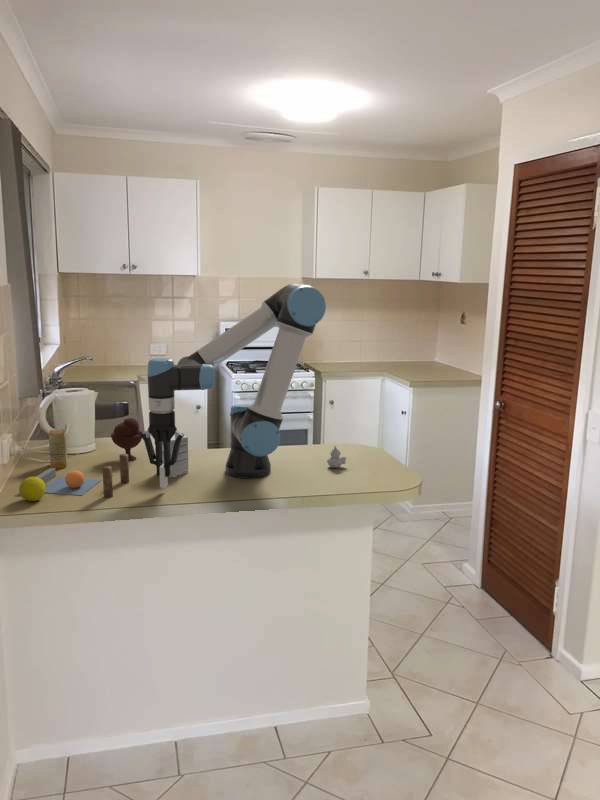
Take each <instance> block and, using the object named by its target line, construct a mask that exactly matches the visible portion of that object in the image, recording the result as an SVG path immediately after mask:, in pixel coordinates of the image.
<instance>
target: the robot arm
mask: <svg viewBox="0 0 600 800" xmlns="http://www.w3.org/2000/svg"><path fill="white" fill-rule="evenodd" d="M326 304H327V303H326V299H325V298H324V295H323V293H322V292H321V291H319V289H317V288H316V287H313V286H312V285H309V284H300V283H290V284H287V285H285V286H283V287H282V288H280V289H279V290H277V291H276V292H275V293H273V294H272V295H271V296H269V297H267V299H265V300H263V301H262V303H261V305H260V307H259V308H257V309H256V310H254V311H253V312H252V313H250V314H248V315H247V316H245V318H243V319H241V320H240V321H239V322H237V323H236V324H234V325H233V326H231V327H230V328H228V329H227V330H225V331H223V333H221V334H219V335H218V336H217V337H215V338H214V339H212V340H210V341H209V342H208V343H206V344H205V345H204V346H201V347H200V348H198V349H197V350H196V351H195V352H193V353H191V354H190V355H189V356H184V357H183V356H182V357H181V358H180V359H179V360H178V362H177V364H175V363H174V359H172V358H169V357H166V358H165V357H155V358H151V359H149V361H148V362H147V390H148V391H147V392H148V394H147V395H148V396H147V397H148V410H149V412H148V421H149V425H148V428H147V430H146V431H145V430H144V431H142V432H143V433H142V434H141V437H142V440H143V442H144V444H145V445H144V446H145V449H146V452H147V457H148V461H149V463H150V464H151V465H154V466H155V467H156V476H157V477H159V488H160V489H166V488H167V487H168V485H169V484H168V483H169V482H168V477H169V476H170V466H171V465H174V464H175V463H176V461H177V457H178V452H179V448H180V443H181V440H182V438H183V437H184V436H185V434H184V433H183V432H179V431H178V429H177V427H176V414H175V413H176V411H175V409H176V408H175V403H176V402H175V392H176V391H198V390H199V391H205V390H212V389H214V388H215V386H216V370H215V368H216V367H218V366H219V365H221V364H222V363H224V362H225V361H226V360H228V359H229V358H231V357H232V356H234V355H235V354H237V353H238V352H240V351H242V349H244V348H245V347H247V346H248V345H250V344H251V343H252V342H254V341H256V340H257V339H259V338H260V337H261V336H263V335H264V334H266V333H268V332H269V331H270V330H272V329H273V328H278V331H277V334H276V338H275V341H274V343H273V347H272V349H271V352H270V354H269V358H268V361H267V363H266V366H265V369H264V373H263V375H262V378H261V381H260V383H259V387H258V389H257V394H256V397H255V400H254V402H252V403H238V404H234V405H232V406H231V407H230V413H229V416H230V450H229V453H228V455H227V456H228V457H227V460H226V463H225V473H226V474H227V475H228V476H231V477H234V478H238V477H240V478H239V479H256V478H261V477H266V476H268V475H269V474H270V473H271V471H272V470H271V468H272V465H271V462H270V459H269V456H268V455H270V454H272V453H274V452H275V451H276V450H277V448H278V447H279V445H280V443H281V432H280V429H281V426H282V423H283V419H284V416H283V414H282V412H281V411H282V408H283V404H284V402H285V399H286V397H287V393H288V391H289V389H290V388H289V387H290V384H291V381H292V379H293V376H294V373H295V372H296V367H297V365H298V361H299V359H300V355H301V353H302V350H303V348H304V345H305V341H306V339H307V338H308V337H310V336H312V335H313V334H314V330H315V327H316V325H317V324H319V322H321V320H322V319H323V318H324V316H325V314H326V308H327V305H326ZM174 434H175V439H176V440H175V443H174V447H173V452H172V456H171V455H170V442H171V438H172V437H173V436H174ZM151 436H152V438H153V440H154V445H153V441H152V438H151ZM162 441H163V445H164V464H162V463H163V462H162ZM154 446H155V449H154ZM169 478H170V477H169Z"/></svg>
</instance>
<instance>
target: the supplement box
mask: <svg viewBox="0 0 600 800" xmlns="http://www.w3.org/2000/svg"><path fill="white" fill-rule="evenodd" d="M175 440H176V439H175V434H174V436H173V437H172V438H171V442H170V455H171V456H172V452H173V447H174V443H175ZM162 462H163V463H162V464H164V445H163V441H162ZM184 473H186V474H189V437H188V436H186V435H184V437H183V438H182V440H181V443H180V448H179V452H178V457H177V461H176V463H175V464H174V465H171V466H170V476H169V478H171V477H172V478H174V476H175V477H178V476H177V475H179V476H182V475H181V474H183V475H185V474H184Z"/></svg>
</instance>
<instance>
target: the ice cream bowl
mask: <svg viewBox="0 0 600 800" xmlns="http://www.w3.org/2000/svg"><path fill="white" fill-rule="evenodd" d="M143 432H144V431H141V430H140V424H139V422H138V420H137V419H135V418H133V417H129V418H125V419H124V421H123V422H120V423H118V424H117V425H116V426H115V427H114V430H113V432H111V434H110V438H111V441H112V442H113V443H114V445H116V446H117V447H119V448H121V449H123V450H124V452H125V454H128V461H132V462H135V461H136V460H137V457H136V456H135V455H133V454H131V450H132V449H133V448H136V447H137V446H138V445H139V444H140V443H141V442H142V440H143V438H142V437H141V434H142V433H143ZM134 460H135V461H134Z"/></svg>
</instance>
